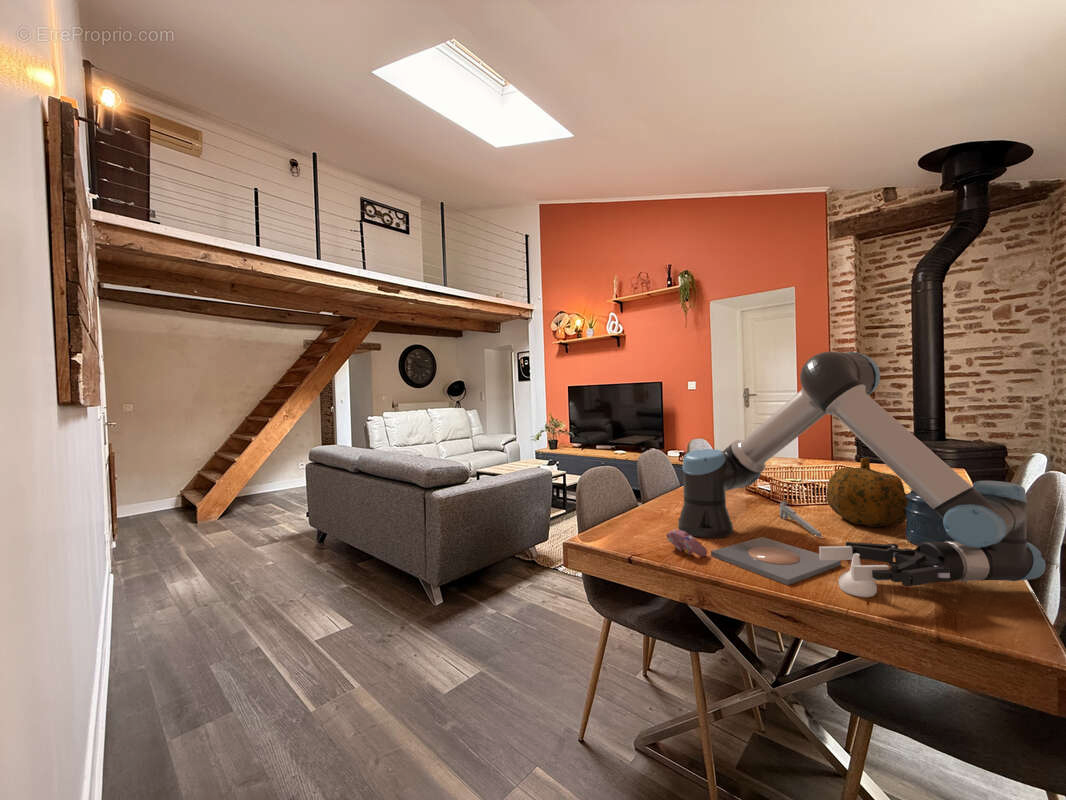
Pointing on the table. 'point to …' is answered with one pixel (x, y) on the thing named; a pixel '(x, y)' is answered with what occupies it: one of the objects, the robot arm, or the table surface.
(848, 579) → the garlic bulb
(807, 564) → the slate board
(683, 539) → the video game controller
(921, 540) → the canister
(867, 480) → the decorative pumpkin
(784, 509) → the caliper
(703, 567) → the table surface
